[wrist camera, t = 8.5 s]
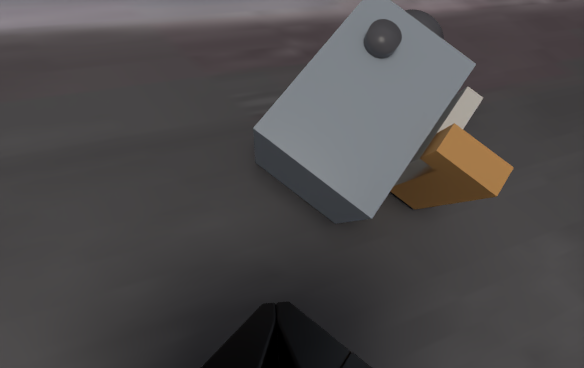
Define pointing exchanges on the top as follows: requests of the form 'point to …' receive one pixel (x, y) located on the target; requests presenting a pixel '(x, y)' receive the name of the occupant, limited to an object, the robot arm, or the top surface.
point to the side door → (452, 162)
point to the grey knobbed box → (361, 110)
